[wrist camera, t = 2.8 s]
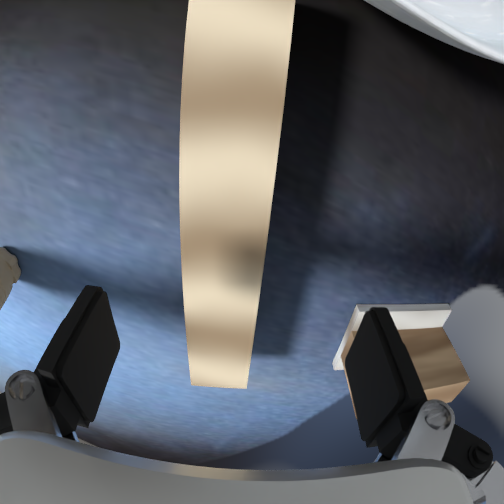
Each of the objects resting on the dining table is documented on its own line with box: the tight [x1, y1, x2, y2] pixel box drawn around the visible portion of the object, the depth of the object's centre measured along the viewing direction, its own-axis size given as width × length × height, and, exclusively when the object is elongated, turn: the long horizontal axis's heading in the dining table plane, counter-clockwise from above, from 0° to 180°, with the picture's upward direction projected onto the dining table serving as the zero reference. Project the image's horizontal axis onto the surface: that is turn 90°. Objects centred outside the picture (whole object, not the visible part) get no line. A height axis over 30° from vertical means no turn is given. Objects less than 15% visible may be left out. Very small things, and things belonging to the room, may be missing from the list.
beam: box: [179, 0, 295, 389], centre depth 16 cm, size 24×4×4 cm, turn 175°
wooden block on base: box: [332, 304, 470, 419], centre depth 21 cm, size 7×9×7 cm
